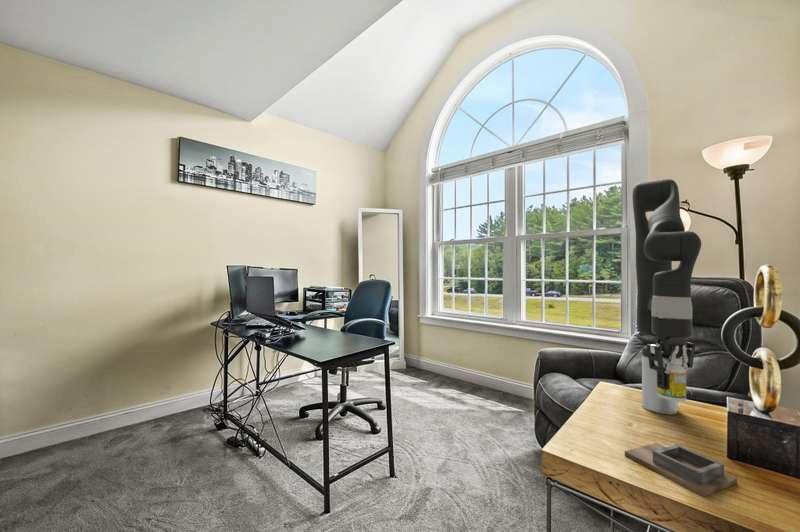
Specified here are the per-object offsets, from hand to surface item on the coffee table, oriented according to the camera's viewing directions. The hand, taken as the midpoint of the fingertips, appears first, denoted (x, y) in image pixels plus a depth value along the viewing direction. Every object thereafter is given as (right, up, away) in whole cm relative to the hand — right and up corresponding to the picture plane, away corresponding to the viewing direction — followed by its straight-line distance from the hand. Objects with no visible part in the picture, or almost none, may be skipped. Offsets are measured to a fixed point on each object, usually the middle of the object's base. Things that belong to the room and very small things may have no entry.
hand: (671, 387), depth 78 cm
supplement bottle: (0, -3, 0) cm, 3 cm away
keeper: (0, -18, -2) cm, 18 cm away
